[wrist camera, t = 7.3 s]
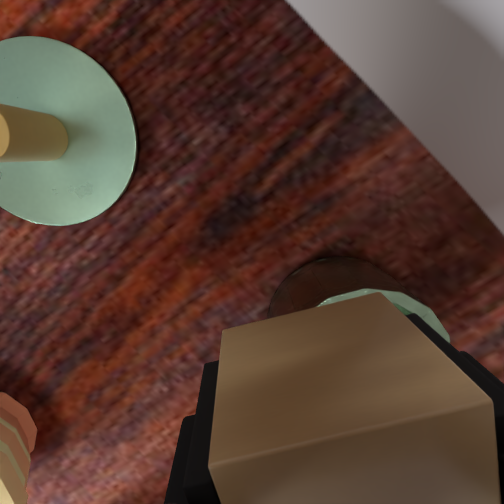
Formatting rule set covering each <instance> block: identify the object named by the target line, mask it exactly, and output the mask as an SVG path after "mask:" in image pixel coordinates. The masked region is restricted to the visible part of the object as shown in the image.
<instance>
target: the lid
mask: <svg viewBox="0 0 504 504" xmlns="http://www.w3.org/2000/svg"><path fill="white" fill-rule="evenodd" d="M137 155H138V135H137V129H136V124H135V120H134V116H133V113H132V110H131V108H130V105H129V103H128V101H127V99H126V97H125V95H124V93H123V92H122V90H121V88H120V87H119V86H118V84H117V83H116V81H115V80H114V79H113V78H112V76H111V75H110V74H109V73H108V72H107V71H106V70H105V69H104V68H103V67H102V66H101V65H100V64H99V63H97V62H96V61H95V60H94V59H92V58H91V57H89V56H88V55H87V54H85V53H84V52H82V51H80V50H78V49H77V48H75V47H73V46H71V45H69V44H66V43H63V42H61V41H58V40H54V39H50V38H45V37H37V36H23V37H15V38H10V39H6V40H3V41H0V207H2V208H3V209H5V210H6V211H8V212H10V213H12V214H13V215H15V216H18V217H20V218H22V219H25V220H28V221H31V222H34V223H38V224H44V225H54V226H63V225H73V224H77V223H82V222H84V221H87V220H90V219H93V218H95V217H96V216H98V215H100V214H102V213H104V212H105V211H106V210H108V209H109V208H111V207H112V206H113V205H114V204H115V203H116V202H117V201H118V200H119V199H120V197H121V196H122V195H123V193H124V192H125V190H126V189H127V187H128V185H129V183H130V181H131V179H132V176H133V174H134V171H135V167H136V163H137Z"/></svg>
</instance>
